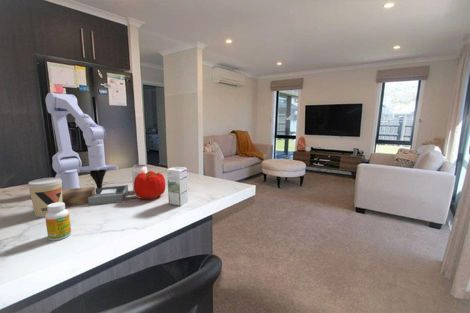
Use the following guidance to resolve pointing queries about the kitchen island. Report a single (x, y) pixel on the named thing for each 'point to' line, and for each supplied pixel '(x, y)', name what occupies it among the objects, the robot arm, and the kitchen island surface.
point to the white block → (108, 192)
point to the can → (138, 171)
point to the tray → (118, 197)
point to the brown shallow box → (77, 195)
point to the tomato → (149, 185)
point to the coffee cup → (45, 194)
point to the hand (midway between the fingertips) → (99, 187)
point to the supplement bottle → (57, 221)
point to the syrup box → (177, 185)
